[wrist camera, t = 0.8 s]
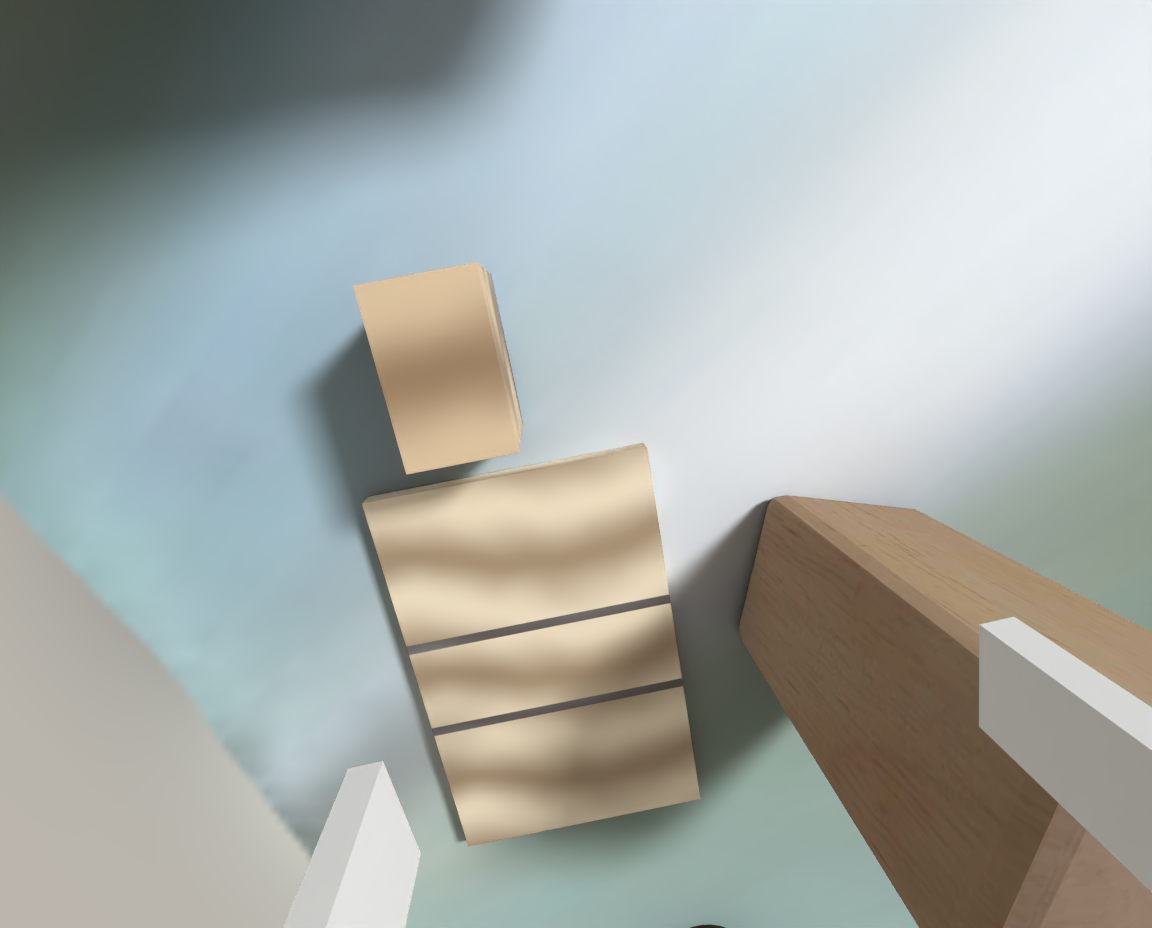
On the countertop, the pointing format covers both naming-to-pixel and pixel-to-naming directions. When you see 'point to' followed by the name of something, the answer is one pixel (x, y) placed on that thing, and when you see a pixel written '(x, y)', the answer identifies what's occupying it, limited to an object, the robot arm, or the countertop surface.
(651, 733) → the board
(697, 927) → the coffee mug
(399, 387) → the block
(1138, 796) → the robot arm
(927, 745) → the block
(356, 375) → the countertop surface
